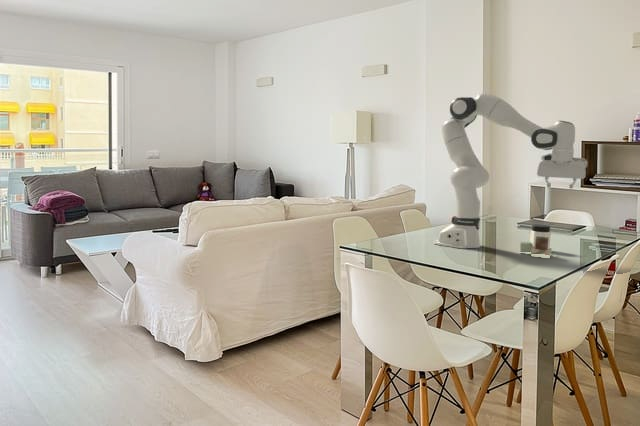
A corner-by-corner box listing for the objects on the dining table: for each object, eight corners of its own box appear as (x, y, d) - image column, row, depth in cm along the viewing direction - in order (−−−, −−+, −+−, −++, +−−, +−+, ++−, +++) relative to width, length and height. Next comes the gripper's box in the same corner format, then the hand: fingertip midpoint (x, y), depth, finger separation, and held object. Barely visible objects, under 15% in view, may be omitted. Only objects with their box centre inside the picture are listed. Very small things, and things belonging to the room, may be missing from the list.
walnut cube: (535, 248, 248) (536, 237, 247) (535, 247, 253) (536, 236, 252) (547, 250, 246) (548, 239, 245) (547, 248, 250) (548, 237, 250)
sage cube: (520, 253, 255) (521, 243, 254) (518, 251, 259) (519, 241, 259) (531, 254, 254) (532, 244, 253) (530, 252, 258) (531, 242, 258)
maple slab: (530, 257, 248) (531, 248, 248) (532, 254, 255) (532, 246, 255) (549, 259, 245) (550, 251, 244) (550, 256, 252) (551, 248, 251)
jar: (527, 250, 264) (529, 225, 262) (530, 247, 271) (532, 223, 269) (547, 252, 259) (550, 227, 258) (550, 250, 266) (552, 225, 265)
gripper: (588, 158, 247) (585, 188, 249) (539, 156, 256) (536, 185, 258) (587, 158, 241) (584, 189, 243) (538, 156, 250) (535, 186, 252)
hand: (559, 187), depth 251 cm, fingers open, 8 cm apart
